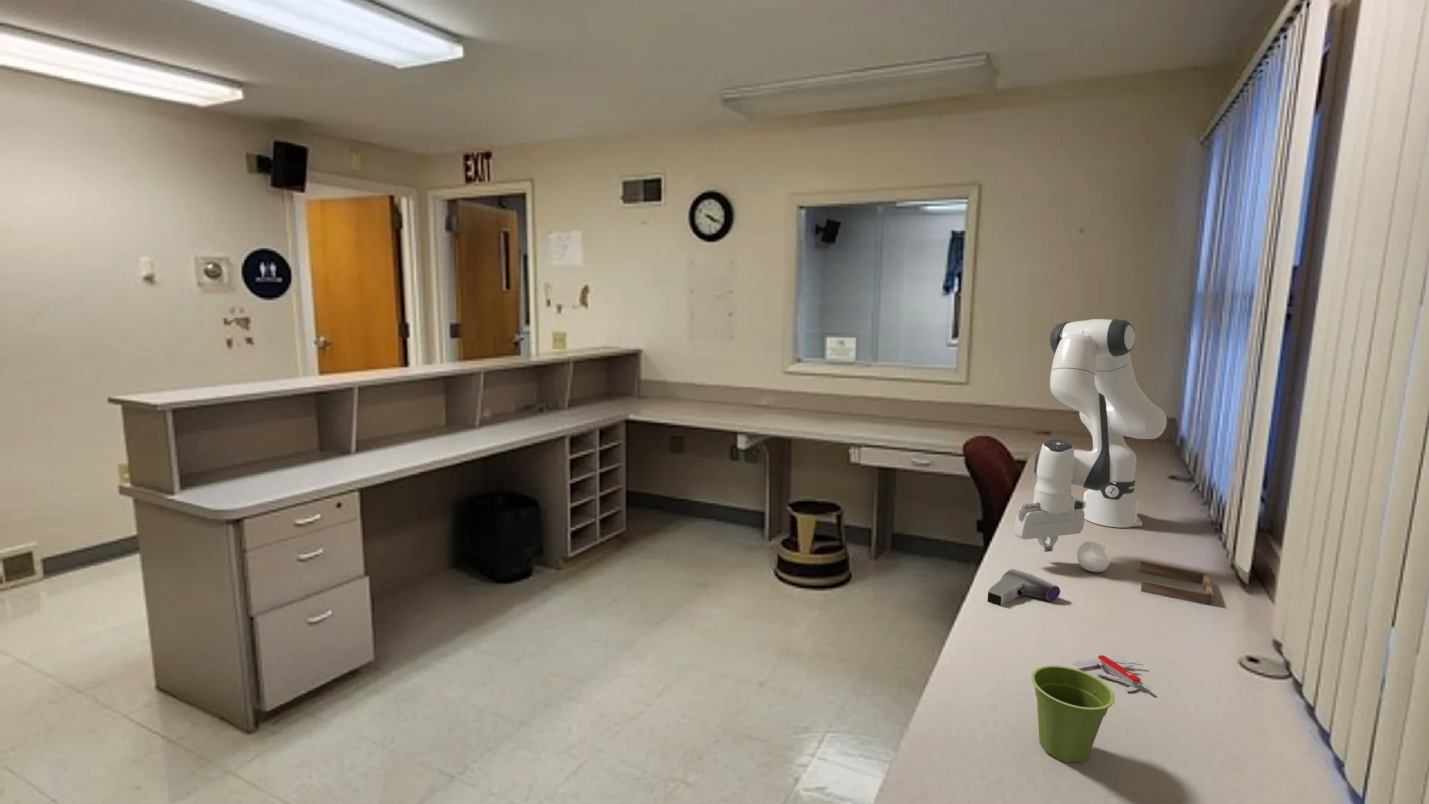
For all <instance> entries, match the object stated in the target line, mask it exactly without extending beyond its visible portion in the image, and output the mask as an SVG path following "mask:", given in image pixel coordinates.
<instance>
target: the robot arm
mask: <svg viewBox="0 0 1429 804" xmlns="http://www.w3.org/2000/svg"><path fill="white" fill-rule="evenodd" d="M1135 333H1136V332H1135V329H1134V326H1133V325H1132V324H1131V323H1130V322H1129V321H1128V320H1127V319H1126V320H1125V319H1120V318H1113V319H1106V318H1102V319H1101V318H1093V319H1086V320H1077V321H1066V322H1065V321H1064V322H1061V323H1058V324H1057V325H1056V326H1054V328H1053V329H1052V331H1051V332H1050V337H1049V345H1050V348H1051V351H1052V352H1053V353H1054V357H1053V360H1052V364H1051V369H1050V370H1051V371H1050V377H1049V389H1050V392H1051V395H1053V396H1054V398H1055V399H1056V400H1058V401H1059V402H1060V403H1061V404H1063V405H1065V406H1067V407H1070V408H1071V409H1074V410H1075V411H1077V412H1079V414H1078V416H1079V419H1080V421H1081V423H1082V424H1083V425H1085V427H1086V428H1087V430H1088V432H1089V433H1090V435H1091V437H1092V450H1088V451H1089V452H1086V451H1087V450H1086V451H1079V450H1080V449H1079V450H1074V449H1075V447H1074V444H1072V443H1071V442H1069V441H1066V440H1065V441H1064V439H1063V440H1062V439H1048V440H1046V441H1044V442H1043V443H1042V444H1041V448H1040V451H1039V452H1037V453H1036V455H1035V459H1034V467H1033V469H1034V470H1033V472H1034V474H1035V476H1036V477H1037V478H1036V479H1037V480H1036V484H1035V486H1034V491H1033V501H1032V503H1025V504H1023V505H1022V506H1020V508H1019V509H1018V511H1017V515H1016V518H1015V522H1014V527H1013V534H1014V535H1015V536H1016V537H1017V538H1019V539H1022V540H1032V539H1037V542H1038V544H1039V551H1040V552H1042V553H1047V552H1048V553H1050V552H1053V551H1054V546H1055V544H1056V543H1057V542H1058V540H1059V537H1060V536H1069V535H1079V534H1080V533H1082V531H1083V529H1084V524H1085V520H1086V521H1089V522H1091V523H1093V524H1096V525H1099V526H1100V525H1101V526H1105V527H1110V528H1120V529H1121V528H1122V529H1123V528H1131V527H1132V528H1133V527H1143V525H1144V524H1143V523H1144V522H1143V521H1141V519H1140V518H1139V516H1138V506H1139V499H1138V498H1137V497H1136V495H1135V493H1134V492H1135V488H1136V480H1135V474H1136V466H1137V455H1136V452H1135V451H1134V450H1133V449H1132V448H1130V447H1129V446H1128V445H1127V443H1126V441H1125V438H1124V436H1125V437H1129V438H1132V439H1137V440H1156V439H1157V438H1159V437H1160V436H1161V435H1162V434H1164V431H1165V430H1166V428H1167V424H1168V423H1167V422H1168V420H1167V416H1166V413H1165V412H1164V410H1163V409H1162V408H1160V407H1159V406H1157V405H1156V404H1155V403H1153V401H1151V400H1150V399H1149V397H1148V396H1147V395H1146V394H1145V393H1144V391H1143V390H1142V389H1141V387H1140V386H1139V383H1138V382H1137V379H1136V375H1135V372H1134V371H1135V370H1134V368H1133V363H1132V357H1131V353H1130V352H1131V351H1132V349H1133V347H1134V345H1135V339H1136V334H1135ZM1071 485H1073V486H1071ZM1077 486H1080V487H1079V488H1082V489H1083V488H1084V489H1087V490H1086V491H1084V492H1083V500H1081V499H1080V498H1077V497H1075V496H1072V487H1077Z"/></svg>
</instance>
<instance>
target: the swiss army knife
mask: <svg viewBox="0 0 1429 804" xmlns="http://www.w3.org/2000/svg"><path fill="white" fill-rule="evenodd" d="M1092 664H1096V666H1097V667H1099V668H1100V669H1101V670H1103V671H1104V672H1106V673H1104V672H1102V671H1100V670H1099V671H1098V670H1094V673H1095V674H1097V675H1099V676H1103V677H1106V678H1110V679H1113V680H1115V681H1117V682H1119V683H1122V684H1124V685H1125V686H1127V687H1126V689H1125V691H1126V692H1131V693H1132V692H1135V691H1138V690H1140V686H1142V687H1143V688H1144V689H1146V690H1148V691H1151V690H1152V689H1151V688H1150V687H1149V686H1148V685H1147V684H1145V683H1143V682H1142V680H1141V678H1140V677H1138V676H1137V675H1136V674H1134V673H1132V672H1130V671H1129V670H1127V669H1128V668H1135V665H1137V666H1144V663H1141V662H1136V661H1134V662H1133V661H1127V660H1120V659H1114V658H1108V657H1107V656H1105V655H1103V654H1101V655H1098V656H1096V658H1093V659H1092V658H1091V659H1084V660H1079V661H1078V660H1077V661H1074V662H1073V663H1072V666H1085V665H1092ZM1107 673H1108V674H1107Z"/></svg>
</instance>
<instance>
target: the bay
mask: <svg viewBox="0 0 1429 804" xmlns="http://www.w3.org/2000/svg"><path fill="white" fill-rule="evenodd" d="M1139 572H1141V573H1145V574H1146V573H1147V574H1151V575H1155V576H1162V577H1167V578H1171V579H1172V578H1173V579H1177V580H1183V581H1187V582H1192V583H1199V584H1201V585H1202V586H1201V587H1202V590H1203V591H1201V590H1199V591H1198V590H1193V589H1189V588H1185V587H1184V588H1183V587H1178V586H1174V585H1173V586H1172V585H1168V584H1164V583H1163V584H1162V583H1159V582H1158V583H1157V582H1153V581H1149V580H1144V579H1142V580H1141V585H1140V592H1142V593H1148V594H1153V595H1158V596H1163V597H1168V598H1172V599H1173V598H1174V599H1178V600H1181V601H1182V600H1183V601H1186V602H1187V601H1188V602H1191V603H1197V604H1201V605H1202V604H1203V605H1206V606H1211V607H1212V606H1213V604H1214V597H1215V595H1214V591H1213V588H1212V584H1211V581H1210V578H1209V574H1208V573H1205V572H1200V571H1195V570H1191V569H1184V568H1180V567H1175V566H1168V565H1164V564H1163V565H1162V564H1158V563H1154V562H1153V563H1152V562H1147V561H1142V560H1141V561H1140V565H1139Z"/></svg>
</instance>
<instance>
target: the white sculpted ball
mask: <svg viewBox="0 0 1429 804" xmlns="http://www.w3.org/2000/svg"><path fill="white" fill-rule="evenodd" d="M1105 550H1106V546H1105V545H1102V544H1100V543H1097V542H1095V541H1088V540H1087V541H1084V542H1083V543H1081V545H1079V547H1078V548H1077V551H1076V559H1077V562H1078V563H1079V565H1080V566H1081V567H1082V568H1083V569H1085V570H1086V571H1088V572H1091V573H1099V572H1100V573H1101V572H1104V571H1105V570H1107V568H1108V567H1109V566H1110V565H1111V562H1110V560H1109V558H1108V556H1107V555H1106V552H1105Z"/></svg>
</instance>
